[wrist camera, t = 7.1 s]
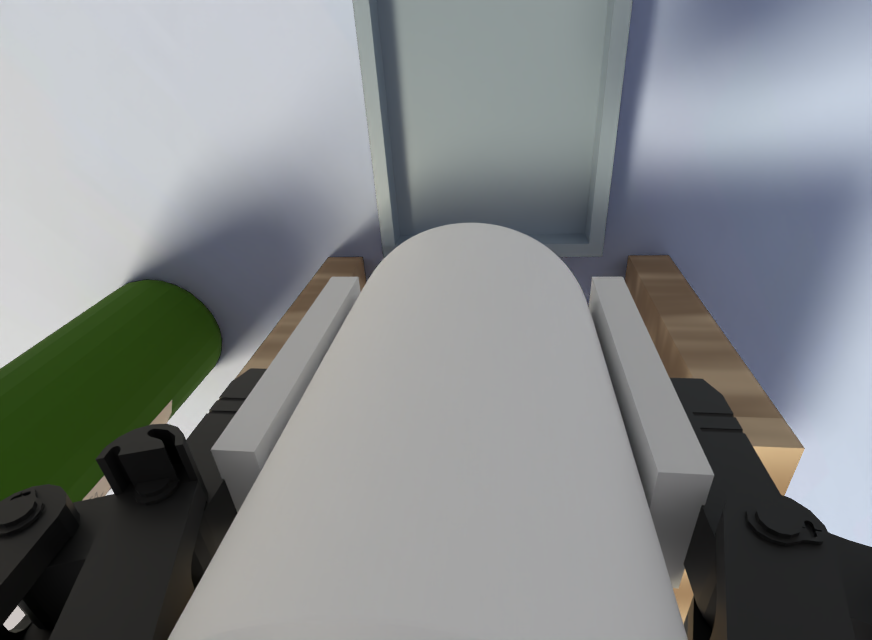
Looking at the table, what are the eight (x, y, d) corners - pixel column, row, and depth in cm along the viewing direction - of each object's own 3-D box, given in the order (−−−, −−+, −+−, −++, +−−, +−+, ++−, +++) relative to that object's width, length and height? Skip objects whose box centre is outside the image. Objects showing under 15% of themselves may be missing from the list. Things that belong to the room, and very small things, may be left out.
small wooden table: (328, 257, 34) (201, 422, 20) (668, 255, 31) (804, 448, 17) (363, 449, 43) (293, 657, 29) (628, 462, 40) (695, 701, 26)
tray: (352, -113, 24) (337, -127, 22) (637, -144, 22) (652, -162, 20) (391, 242, 33) (383, 257, 31) (595, 240, 31) (602, 256, 29)
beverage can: (589, 395, 15) (769, 1190, 5) (392, 407, 16) (195, 1062, 6) (582, 193, 12) (1025, 1165, 2) (341, 226, 13) (-232, 915, 3)
